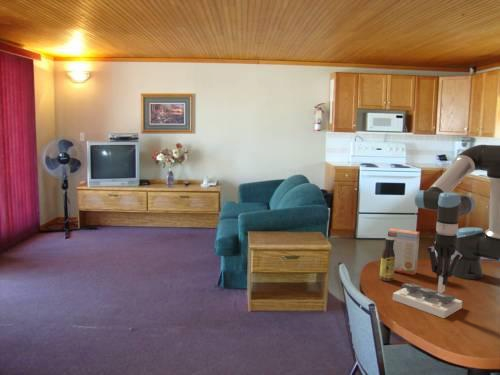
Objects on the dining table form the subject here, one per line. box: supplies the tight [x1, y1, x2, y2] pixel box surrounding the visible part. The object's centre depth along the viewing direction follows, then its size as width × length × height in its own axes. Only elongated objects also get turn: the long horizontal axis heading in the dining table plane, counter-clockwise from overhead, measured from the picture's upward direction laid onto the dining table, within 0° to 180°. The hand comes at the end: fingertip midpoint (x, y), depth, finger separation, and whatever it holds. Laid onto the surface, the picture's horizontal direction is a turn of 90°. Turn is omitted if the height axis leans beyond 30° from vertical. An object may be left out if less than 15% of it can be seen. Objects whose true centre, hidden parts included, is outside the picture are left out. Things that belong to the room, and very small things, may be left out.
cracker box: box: [387, 227, 420, 276], centre depth 216 cm, size 14×6×21 cm, turn 58°
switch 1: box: [401, 282, 423, 290], centre depth 184 cm, size 9×4×2 cm, turn 131°
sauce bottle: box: [379, 237, 395, 282], centre depth 205 cm, size 6×6×20 cm
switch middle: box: [417, 287, 439, 295], centre depth 179 cm, size 9×4×2 cm, turn 131°
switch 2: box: [434, 293, 456, 301], centre depth 173 cm, size 9×4×2 cm, turn 131°
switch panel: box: [392, 287, 463, 319], centre depth 179 cm, size 15×22×4 cm
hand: (441, 291), depth 171 cm, fingers closed
